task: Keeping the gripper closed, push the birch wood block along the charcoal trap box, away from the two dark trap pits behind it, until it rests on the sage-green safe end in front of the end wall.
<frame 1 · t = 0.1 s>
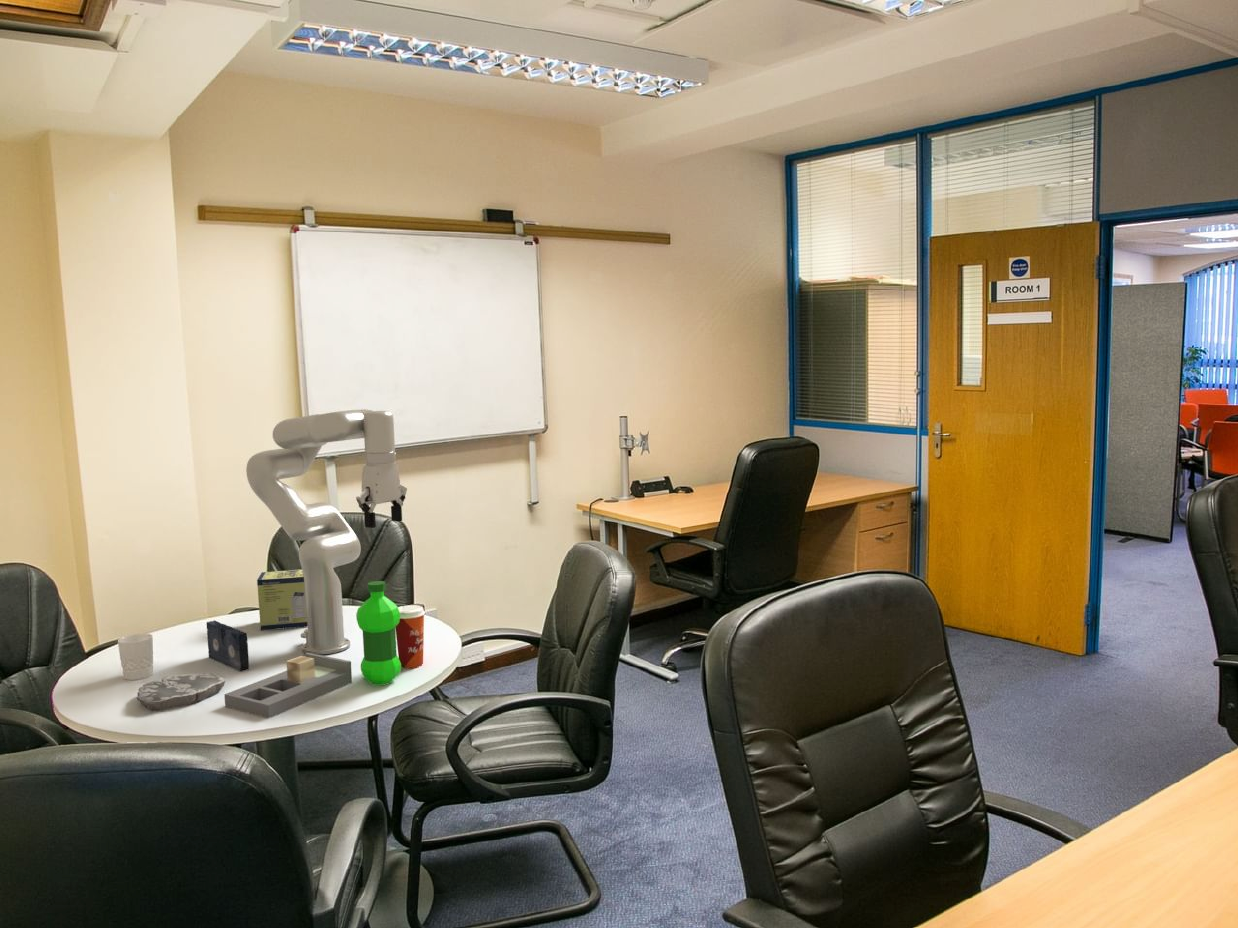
hand: (383, 524, 241), 37 cm above the table, tool pointing down, fingers open, 9 cm apart
protein box: (289, 624, 282), on the table
trap box: (290, 694, 222), on the table
vhs cassette tape: (228, 664, 246), on the table
birch block: (301, 677, 225), point 3 cm above the table, touching trap box
coffee cup: (411, 665, 242), on the table
plastic bottle: (381, 682, 230), on the table
white cup: (138, 676, 238), on the table
brain slice: (177, 698, 222), on the table
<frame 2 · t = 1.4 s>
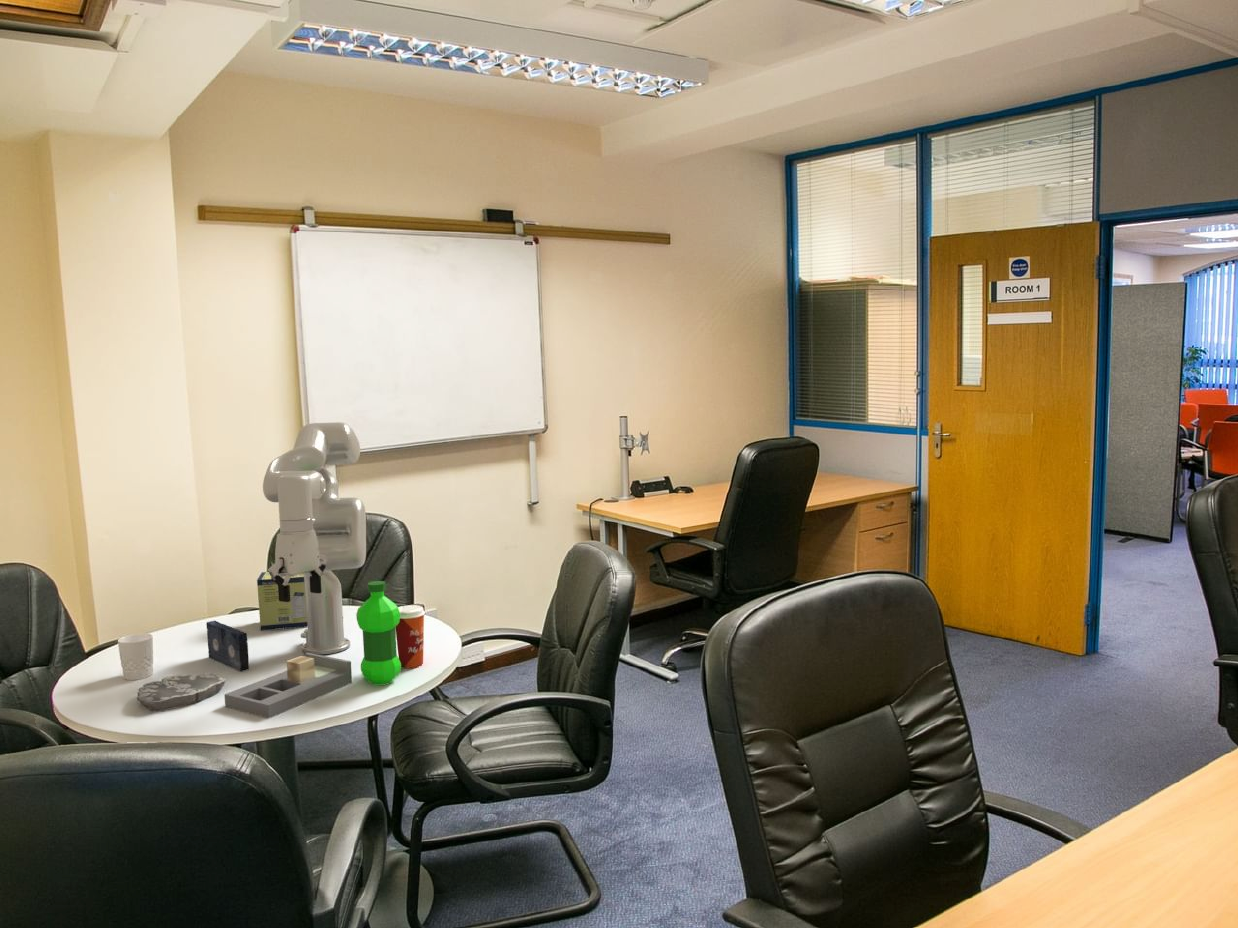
hand: (300, 597, 221), 23 cm above the table, tool pointing down, fingers open, 9 cm apart
nothing on the table moved.
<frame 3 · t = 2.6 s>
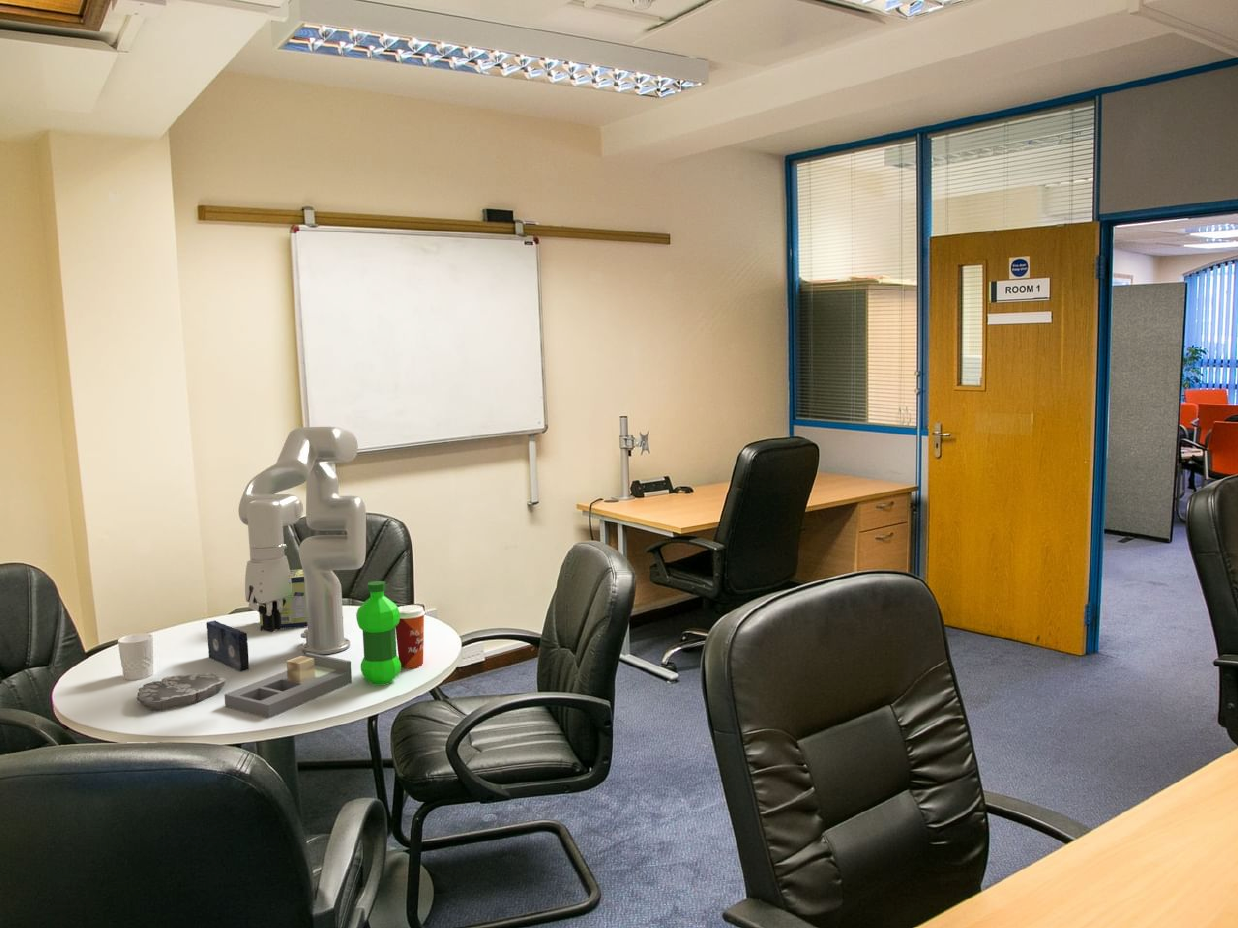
hand: (272, 629, 217), 17 cm above the table, tool pointing down, fingers closed
nothing on the table moved.
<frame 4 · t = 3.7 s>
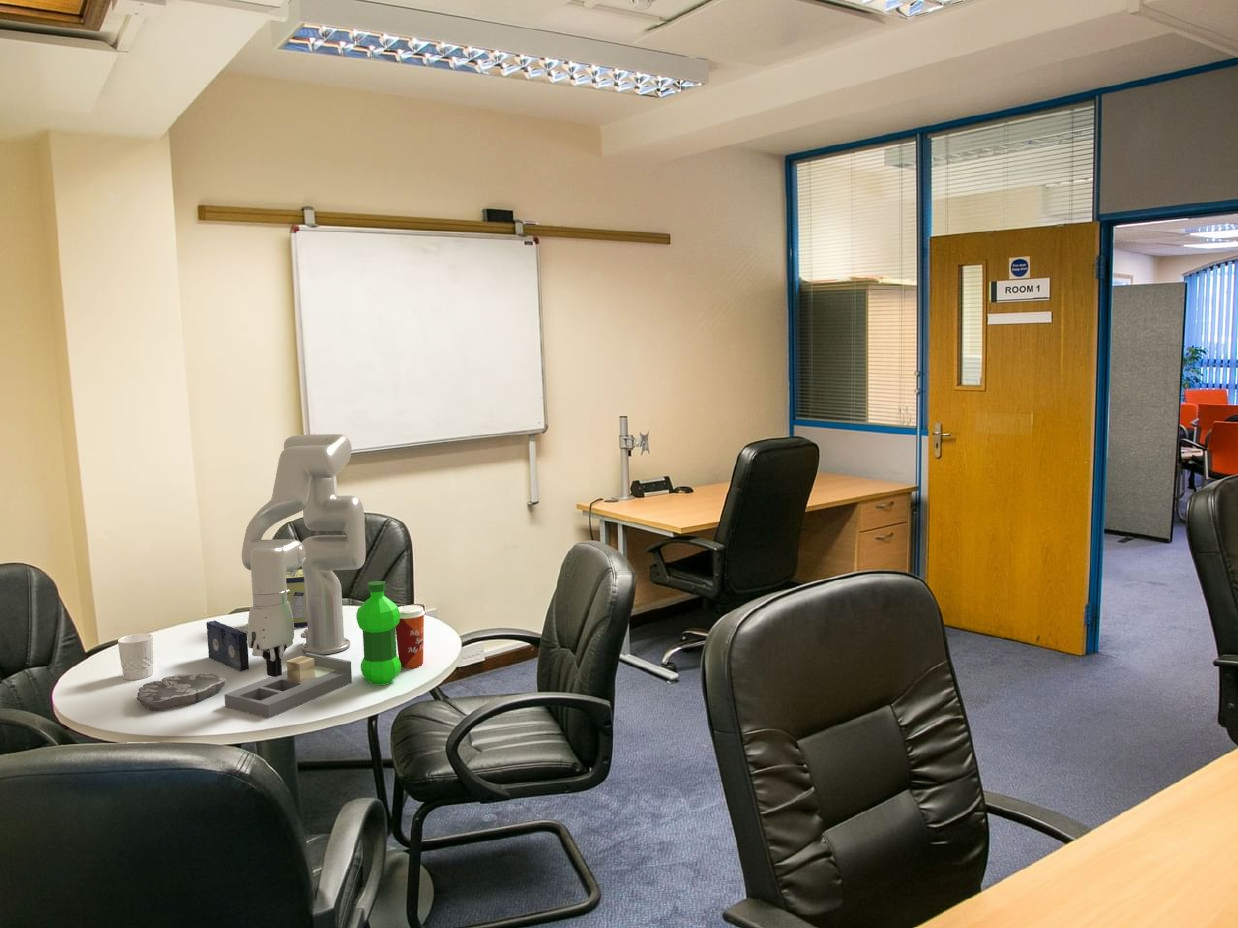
hand: (274, 675, 217), 6 cm above the table, tool pointing down, fingers closed
nothing on the table moved.
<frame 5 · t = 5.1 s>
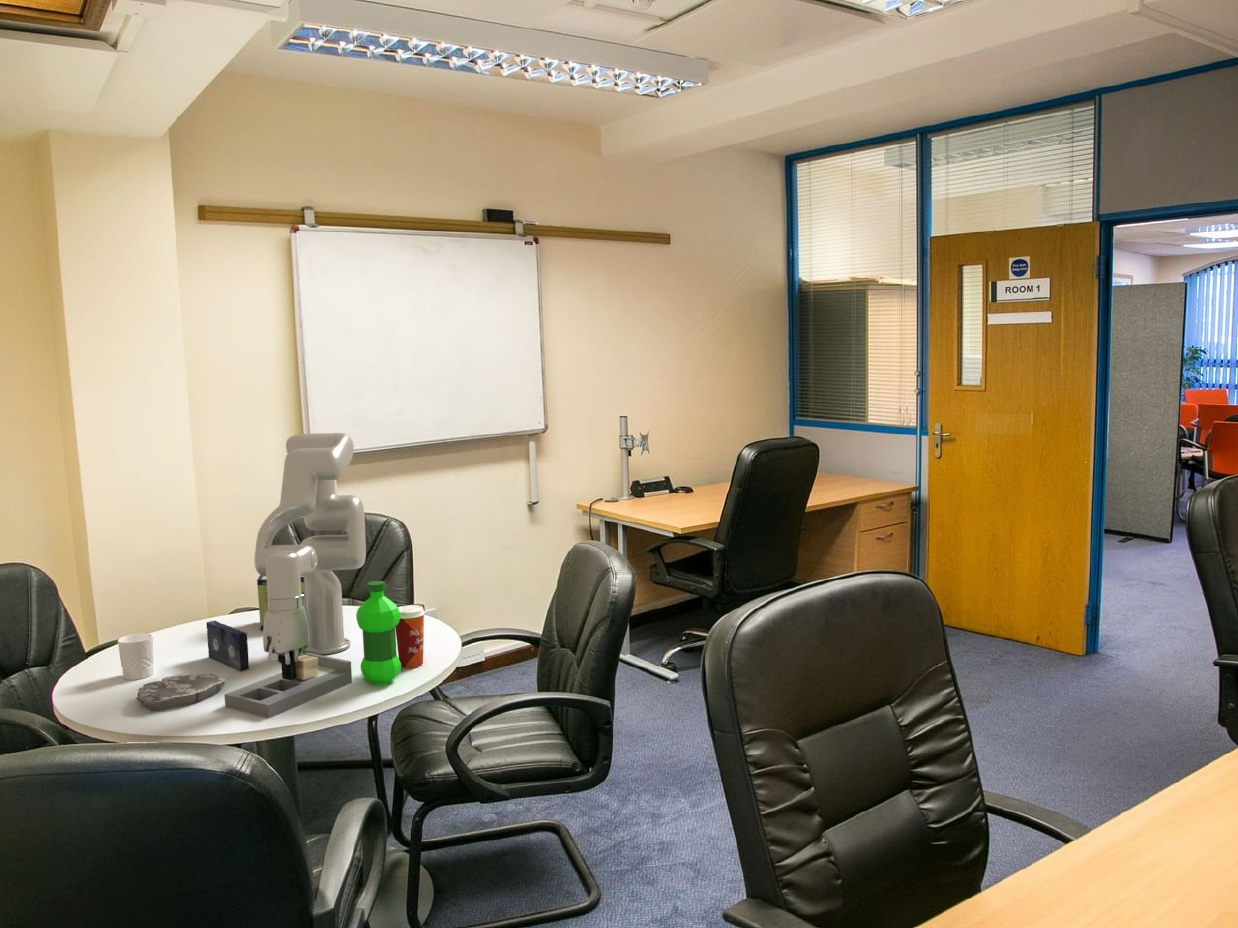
hand: (289, 678, 221), 4 cm above the table, tool pointing down, fingers closed
birch block: (304, 676, 225), point 3 cm above the table, touching gripper, trap box
everything else where it was.
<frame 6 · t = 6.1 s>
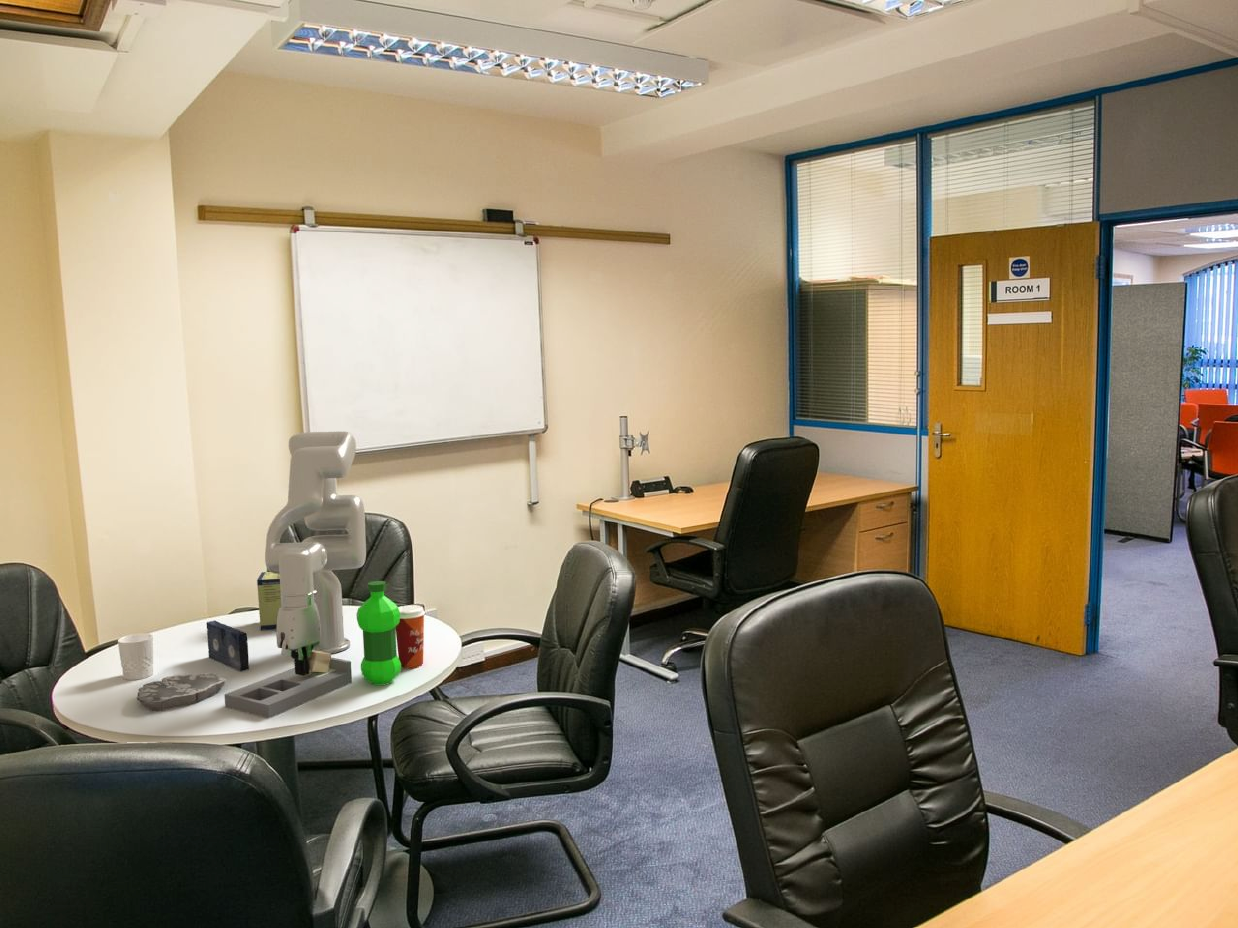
hand: (302, 673, 225), 4 cm above the table, tool pointing down, fingers closed
birch block: (314, 670, 228), point 4 cm above the table, tilted 20°, touching gripper, trap box
everything else where it was.
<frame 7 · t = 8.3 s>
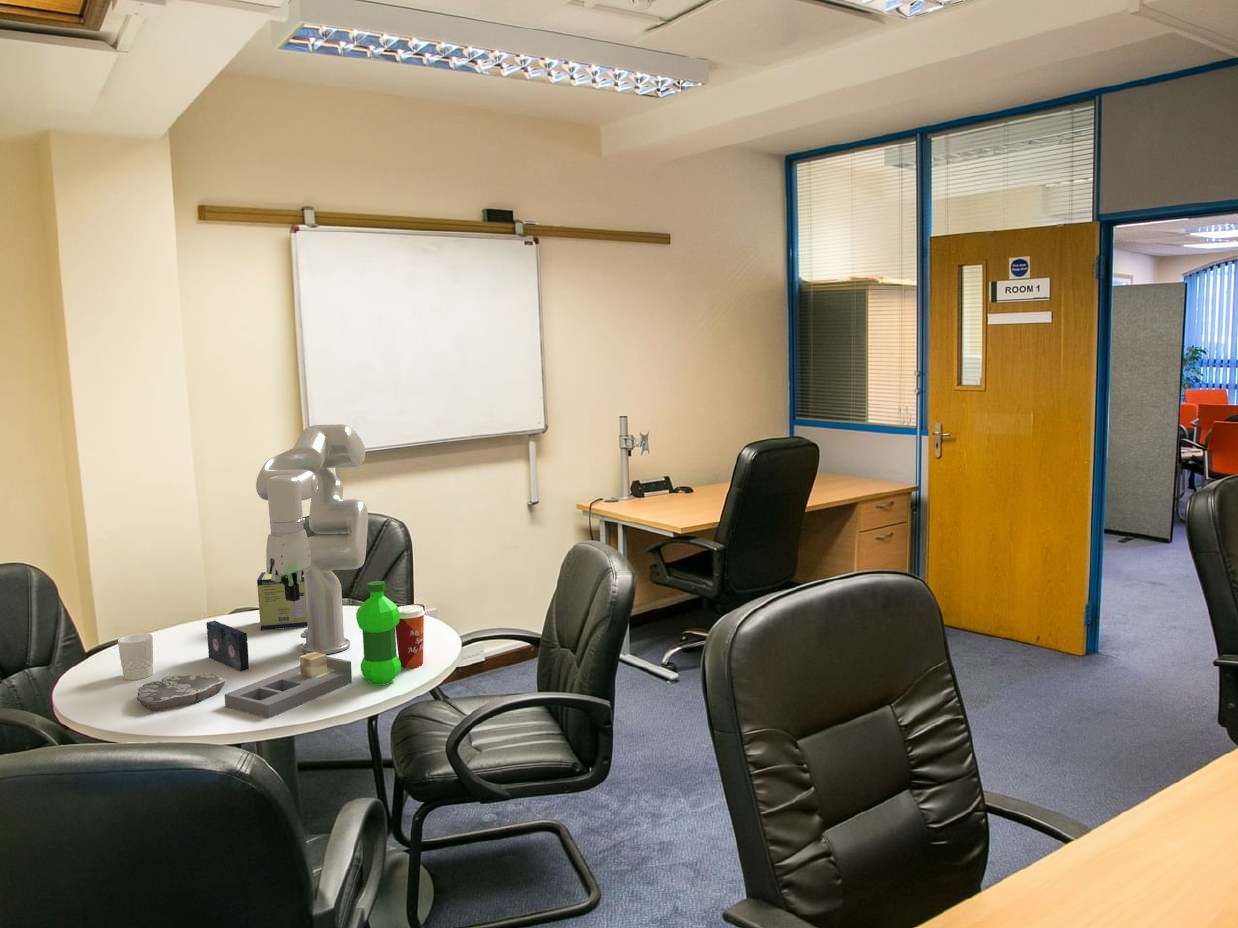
hand: (292, 599, 226), 22 cm above the table, tool pointing down, fingers closed
birch block: (314, 673, 228), point 3 cm above the table, touching trap box
everything else where it was.
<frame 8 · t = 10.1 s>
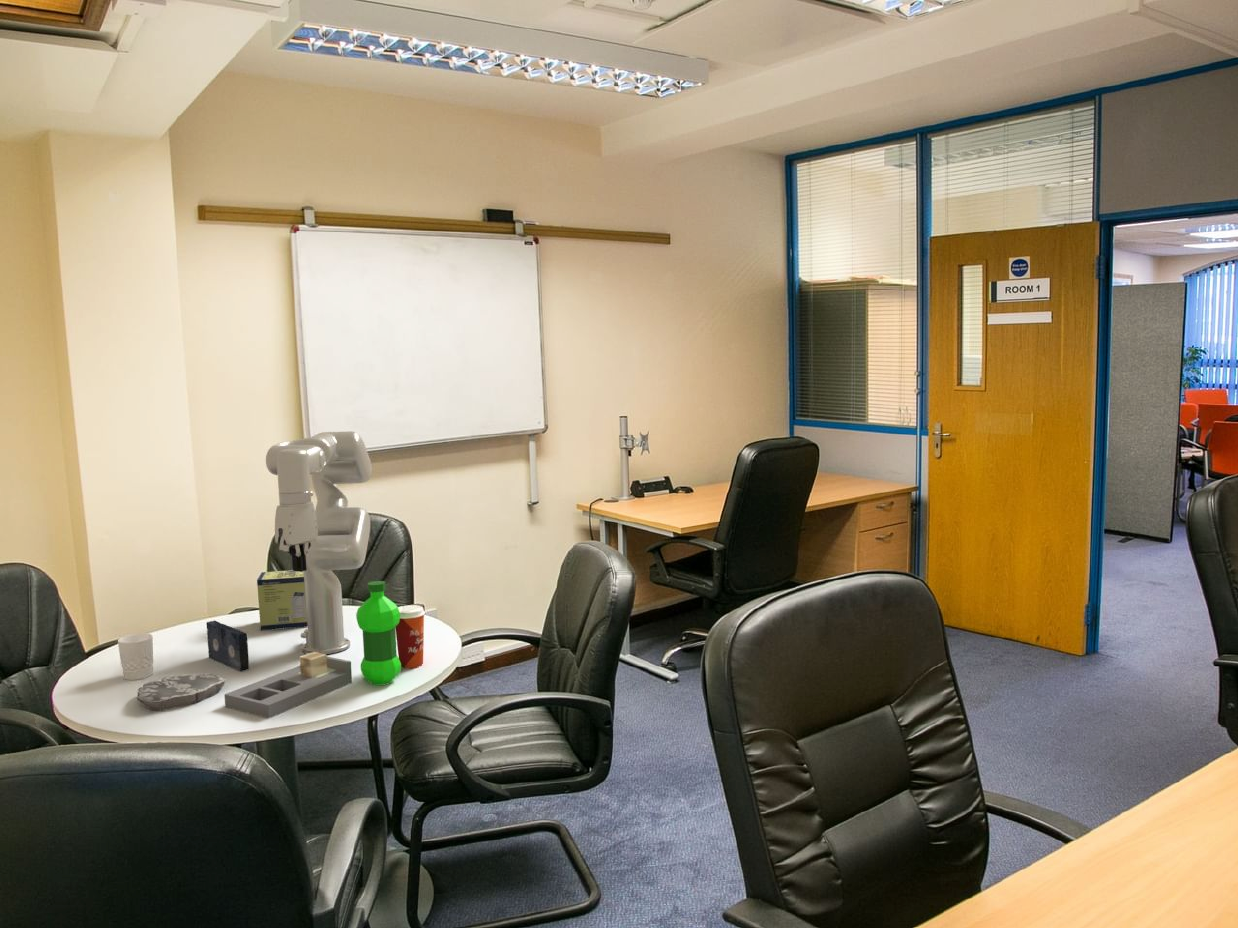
hand: (299, 570, 232), 27 cm above the table, tool pointing down, fingers closed
nothing on the table moved.
at the end: birch block inside the target area on the trap box (0.8 cm from its centre), point 3.0 cm above the trap box's base; birch block tilted 0°; birch block moved 3.6 cm from its start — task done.
